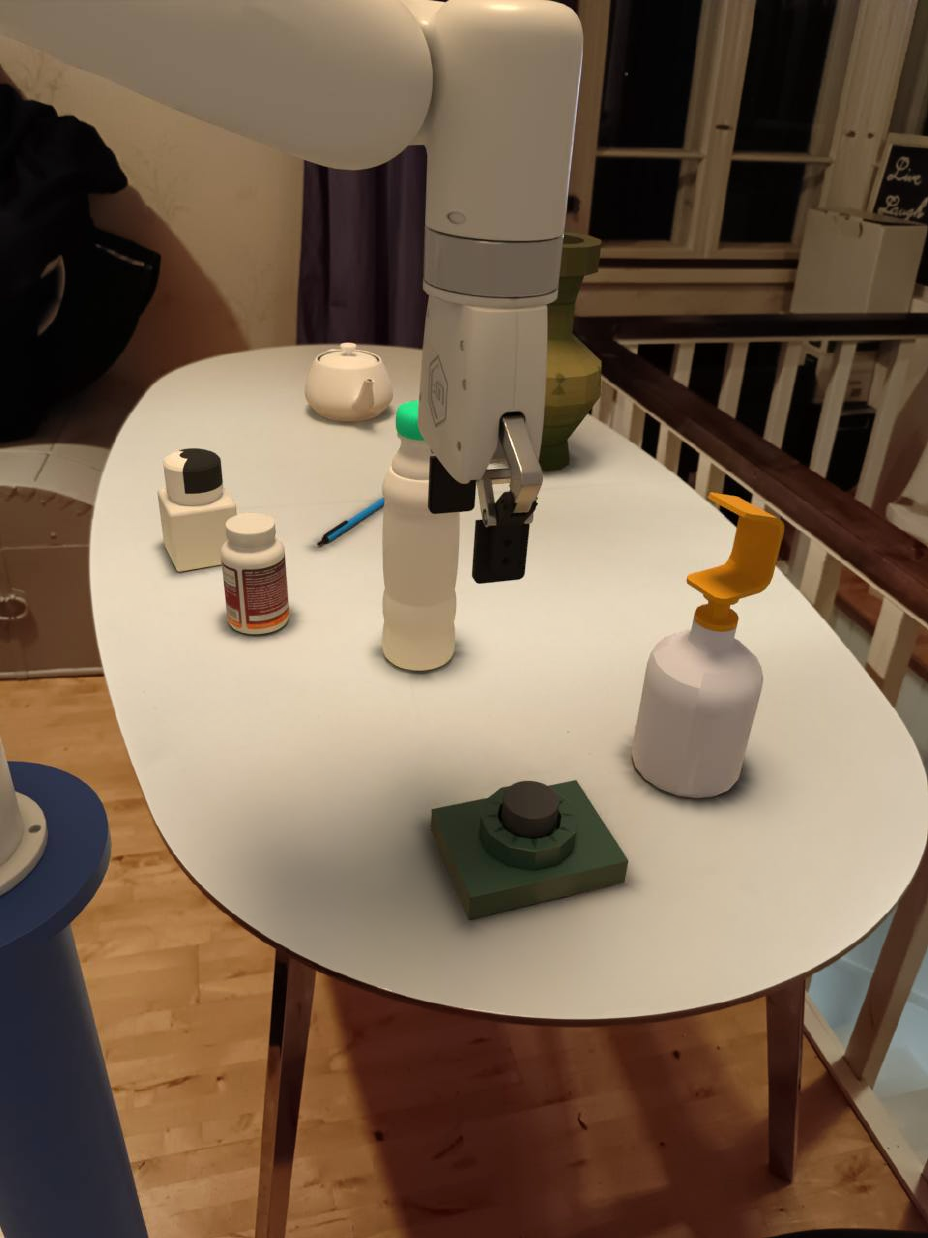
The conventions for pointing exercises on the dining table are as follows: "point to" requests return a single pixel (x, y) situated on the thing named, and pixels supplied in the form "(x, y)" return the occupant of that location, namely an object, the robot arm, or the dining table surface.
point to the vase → (568, 356)
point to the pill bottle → (254, 574)
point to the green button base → (525, 853)
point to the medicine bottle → (194, 508)
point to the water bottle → (416, 557)
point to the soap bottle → (708, 672)
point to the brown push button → (530, 809)
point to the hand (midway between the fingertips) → (473, 543)
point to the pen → (350, 522)
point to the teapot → (348, 384)
